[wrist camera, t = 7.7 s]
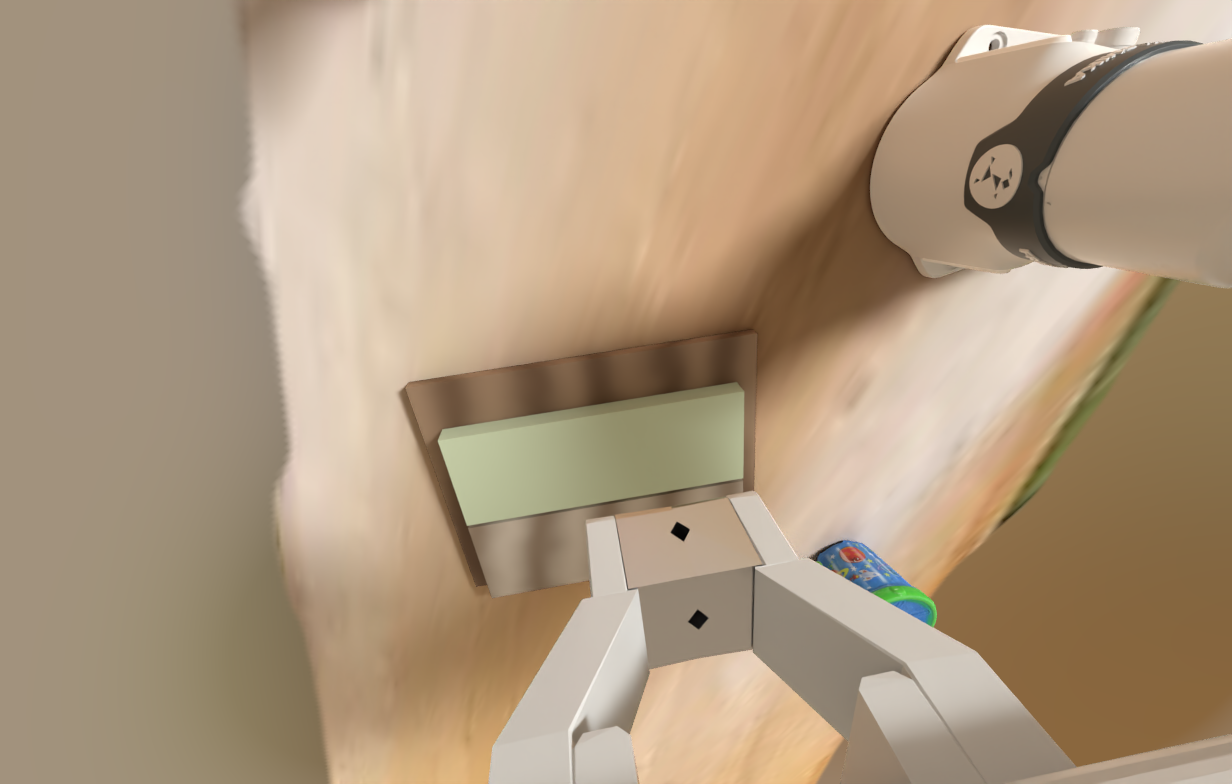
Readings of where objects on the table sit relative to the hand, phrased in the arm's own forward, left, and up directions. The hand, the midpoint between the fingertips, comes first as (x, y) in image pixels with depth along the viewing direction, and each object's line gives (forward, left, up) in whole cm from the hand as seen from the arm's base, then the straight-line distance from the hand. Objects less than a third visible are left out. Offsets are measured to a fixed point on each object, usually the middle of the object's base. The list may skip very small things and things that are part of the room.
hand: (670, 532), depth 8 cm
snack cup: (-27, +43, -34) cm, 61 cm away
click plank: (+1, +19, -33) cm, 38 cm away
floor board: (+1, +22, -34) cm, 41 cm away
